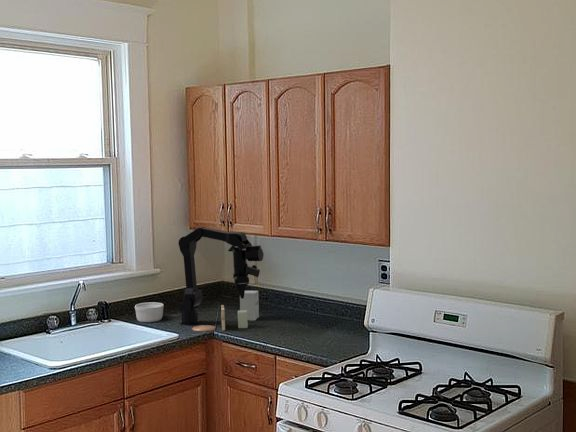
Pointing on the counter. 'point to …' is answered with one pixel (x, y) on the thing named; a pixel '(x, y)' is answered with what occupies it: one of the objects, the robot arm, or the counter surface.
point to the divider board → (223, 317)
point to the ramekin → (149, 311)
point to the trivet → (203, 328)
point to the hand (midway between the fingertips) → (242, 296)
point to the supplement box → (250, 304)
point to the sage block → (242, 319)
